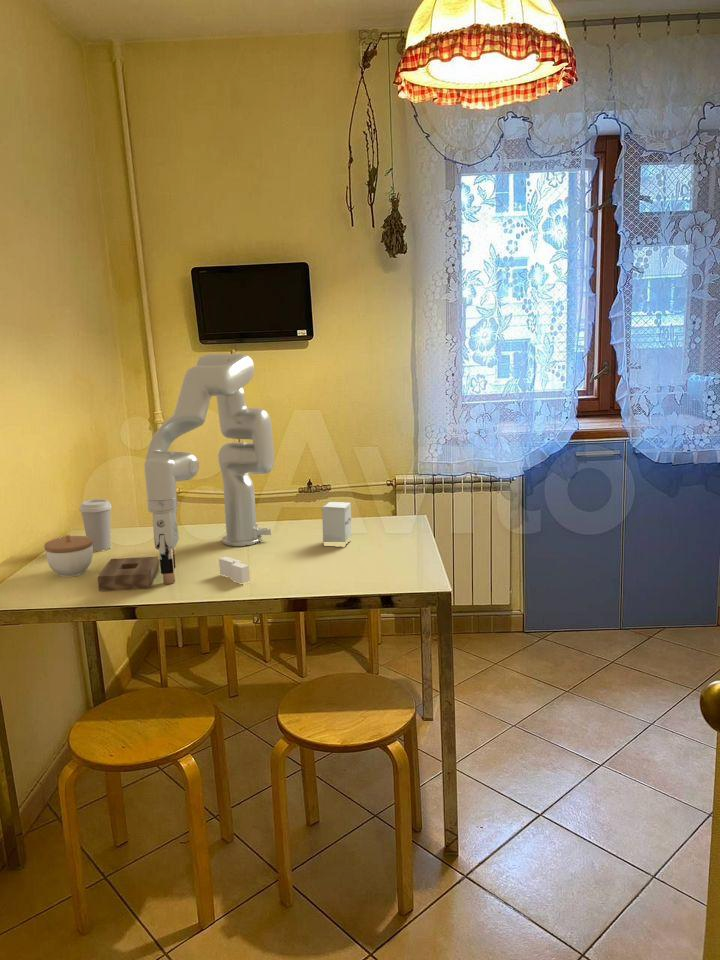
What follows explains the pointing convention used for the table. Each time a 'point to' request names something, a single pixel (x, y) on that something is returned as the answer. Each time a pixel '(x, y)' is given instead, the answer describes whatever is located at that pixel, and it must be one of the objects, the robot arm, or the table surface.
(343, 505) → the supplement box
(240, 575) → the napkin holder
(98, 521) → the coffee cup
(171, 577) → the peg
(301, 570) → the table surface
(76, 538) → the lidded bowl
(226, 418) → the robot arm
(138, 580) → the hole block
